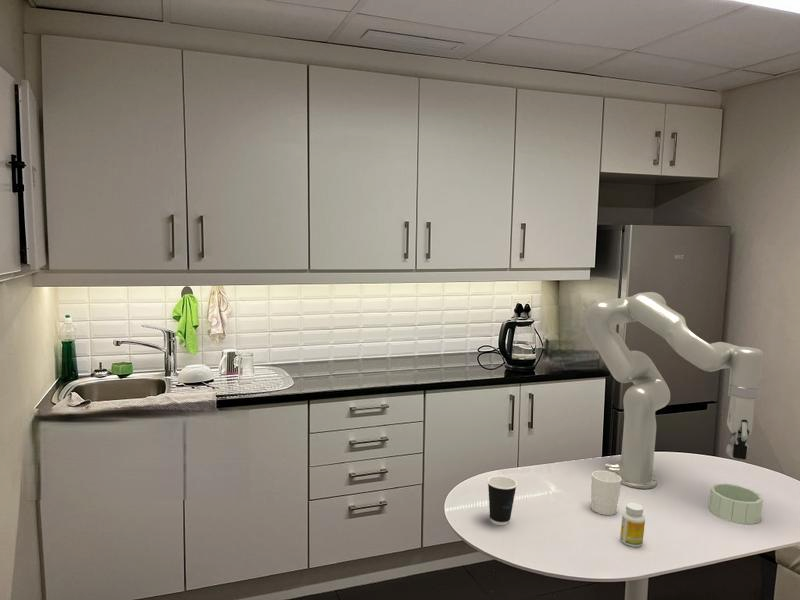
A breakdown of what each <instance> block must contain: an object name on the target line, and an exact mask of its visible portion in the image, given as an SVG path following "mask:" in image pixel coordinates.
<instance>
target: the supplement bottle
mask: <svg viewBox="0 0 800 600" xmlns="http://www.w3.org/2000/svg"><path fill="white" fill-rule="evenodd" d="M643 513H644V507H643V506H642V505H641V504H639V503H636V502H628V503H627V504H626V506H625V510H624V512H623V513H622V517H621V524H620V525H621V526H620V537H619V538H620V542H621V543H622V544H624V545H625V546H628V547H632V548H640V547H641V546H643V542H644V533H645V525H646V518H645V517H646V516H645V515H644V514H643Z"/></svg>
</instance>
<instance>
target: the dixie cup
mask: <svg viewBox="0 0 800 600" xmlns="http://www.w3.org/2000/svg"><path fill="white" fill-rule="evenodd" d="M486 481H487V482H486V483H487V484H488V485H487V487H488V504H489V505H488V506H489V507H488V509H489V518H490V522H491V523H492V524H494V525H496V526H506V525H508V524H509V522H510V520H511V516H512V513H513V505H514V499H515V496H516V495H515V494H516V490H517V486H518V482H517V481H516V480H515V479H514V478H512V477H509V476H505V475H493V476H490V477H488V478H487V479H486Z"/></svg>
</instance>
